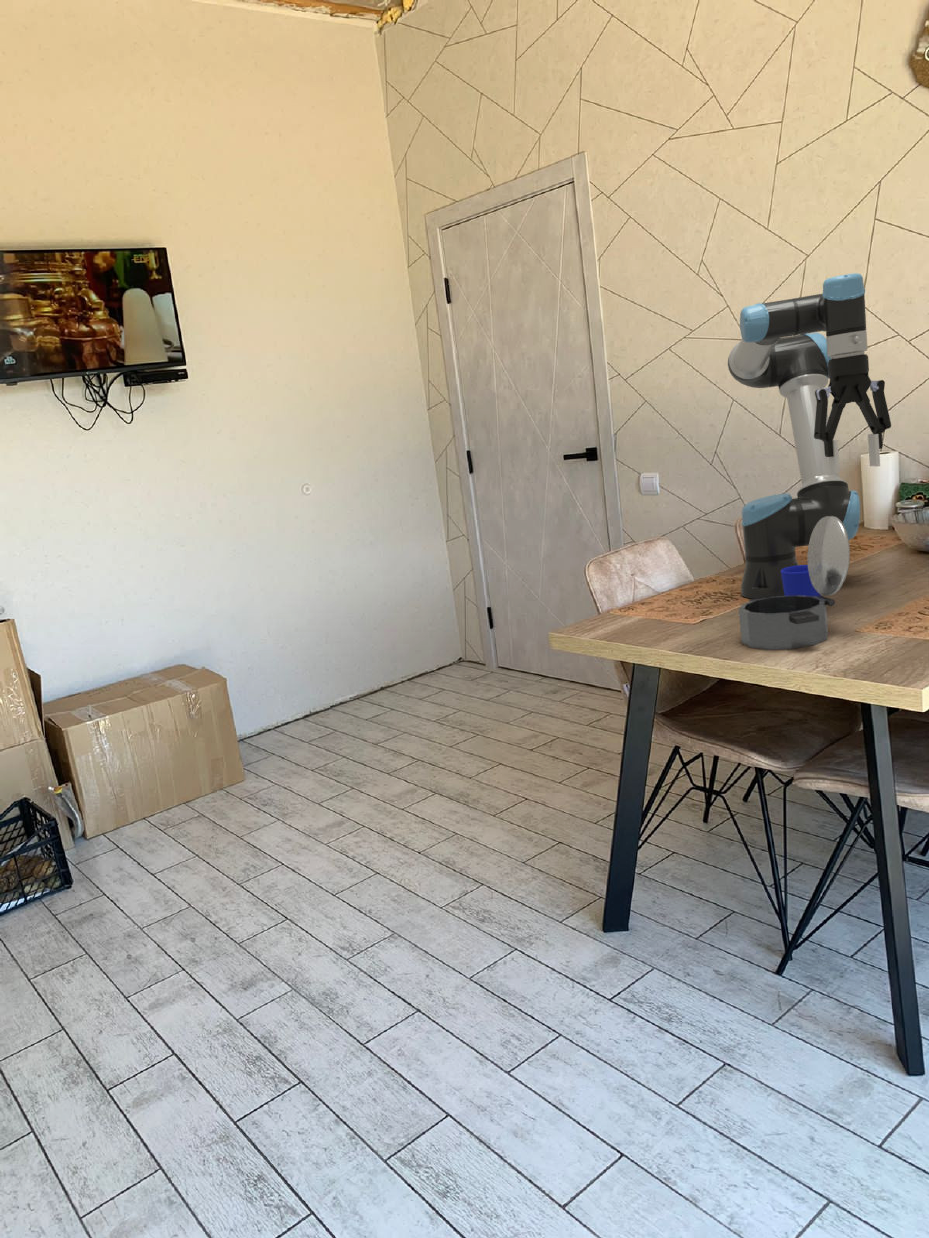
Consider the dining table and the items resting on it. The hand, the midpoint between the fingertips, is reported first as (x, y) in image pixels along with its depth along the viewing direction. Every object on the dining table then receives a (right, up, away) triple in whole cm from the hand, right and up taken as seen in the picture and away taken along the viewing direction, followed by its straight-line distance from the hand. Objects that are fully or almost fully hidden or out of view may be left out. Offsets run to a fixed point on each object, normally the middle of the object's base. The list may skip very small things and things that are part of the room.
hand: (854, 469), depth 192 cm
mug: (-5, -29, +14) cm, 33 cm away
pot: (-16, -35, -5) cm, 39 cm away
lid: (-9, -18, -8) cm, 22 cm away
